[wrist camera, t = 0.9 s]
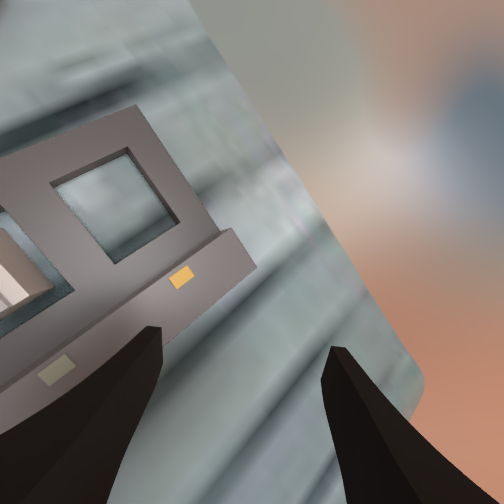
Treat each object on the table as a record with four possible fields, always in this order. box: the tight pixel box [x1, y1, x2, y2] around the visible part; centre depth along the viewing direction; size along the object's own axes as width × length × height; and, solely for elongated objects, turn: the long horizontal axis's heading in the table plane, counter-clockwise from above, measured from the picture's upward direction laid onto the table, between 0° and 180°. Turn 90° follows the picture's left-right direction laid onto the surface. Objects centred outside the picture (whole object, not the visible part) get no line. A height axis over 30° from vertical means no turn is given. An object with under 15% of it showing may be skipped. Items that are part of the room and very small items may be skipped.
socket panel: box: [0, 105, 257, 434], centre depth 18 cm, size 20×16×4 cm
